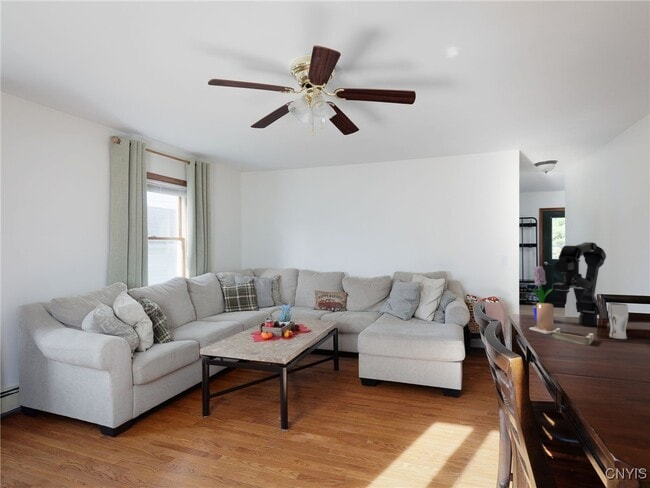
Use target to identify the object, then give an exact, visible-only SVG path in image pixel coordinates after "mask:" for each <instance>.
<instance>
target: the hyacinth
mask: <svg viewBox="0 0 650 488" xmlns="http://www.w3.org/2000/svg"><path fill="white" fill-rule="evenodd" d="M533 279H534V284H536V286H538V291H537V290H536V289H530V290H531V291H532V292H533V293H534V294H535V295H536V298H537V299H538V301H539V303H545V300H546V297H547V295H549V294H550V293H551V292H552V291H553V290H554V289H552V288H549V289H547V290H546V291H544V290H543V285H546V284H547V280H546V270H545V269H544V267H543V266H540V265H537V266H535V267H534V268H533ZM532 309H533V315H534V321H536V322H537V305H532Z"/></svg>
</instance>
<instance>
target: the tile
mask: <svg viewBox="0 0 650 488" xmlns="http://www.w3.org/2000/svg"><path fill="white" fill-rule="evenodd" d="M529 330H531V331H533V332H534V331H535V332H537V333H538V332H539V333H542V334H546V335H547V334H549V335H550V334H551V332H552V331H554V330H551V331H544V330H540V329H537V328H535V326H531V327H529Z"/></svg>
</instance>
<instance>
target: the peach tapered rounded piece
mask: <svg viewBox="0 0 650 488" xmlns="http://www.w3.org/2000/svg"><path fill="white" fill-rule="evenodd" d="M536 306H537V321H536V325H534V327H535V328H537V329H540V330H544V331H551V330H555V329H556V327H554V304H553V303H546V302H543V303H540V302H537V303H536Z"/></svg>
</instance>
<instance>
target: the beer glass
mask: <svg viewBox="0 0 650 488" xmlns="http://www.w3.org/2000/svg"><path fill="white" fill-rule="evenodd" d="M607 317H608V323H609V328H610V329H609V335H608V336H609V338H612V339H616V340H627V339H628V337H627V333H626V331H627V324H628V321H629V305H628V304H626V303H620V302H608V307H607Z"/></svg>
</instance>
